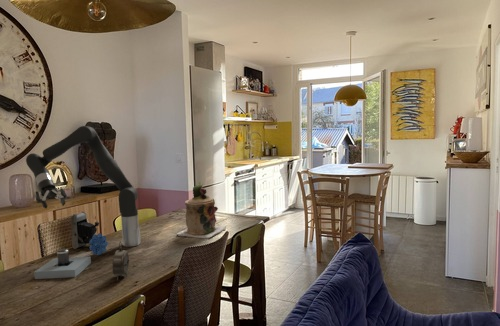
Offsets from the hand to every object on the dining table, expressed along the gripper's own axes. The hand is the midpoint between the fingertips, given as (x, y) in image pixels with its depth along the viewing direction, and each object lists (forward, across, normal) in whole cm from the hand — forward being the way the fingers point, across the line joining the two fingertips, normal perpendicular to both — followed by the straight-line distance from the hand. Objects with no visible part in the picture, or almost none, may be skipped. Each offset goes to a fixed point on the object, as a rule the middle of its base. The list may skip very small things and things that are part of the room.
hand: (55, 206), depth 192 cm
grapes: (+30, +16, +10) cm, 35 cm away
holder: (+36, -6, +4) cm, 36 cm away
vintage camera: (+15, +18, +24) cm, 34 cm away
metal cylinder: (+36, -6, +4) cm, 36 cm away
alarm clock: (+58, +7, -18) cm, 61 cm away
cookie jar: (+38, +77, +2) cm, 86 cm away
